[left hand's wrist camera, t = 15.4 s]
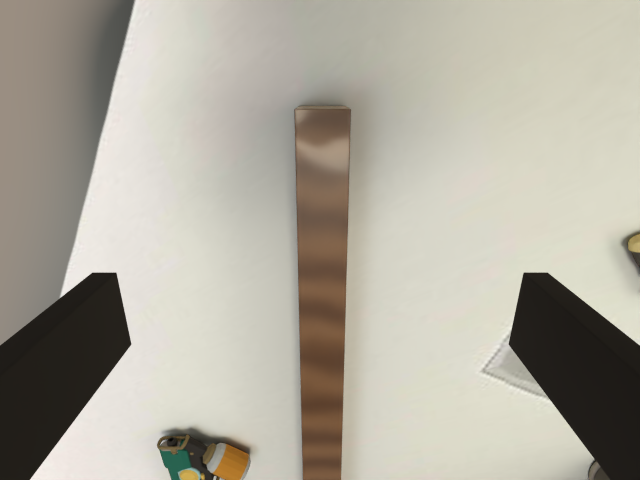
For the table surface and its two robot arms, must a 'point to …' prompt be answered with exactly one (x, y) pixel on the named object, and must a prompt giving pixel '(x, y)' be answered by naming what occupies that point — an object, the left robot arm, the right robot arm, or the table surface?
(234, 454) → the spray gun
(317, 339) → the beam
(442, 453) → the table surface
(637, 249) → the toy gun
